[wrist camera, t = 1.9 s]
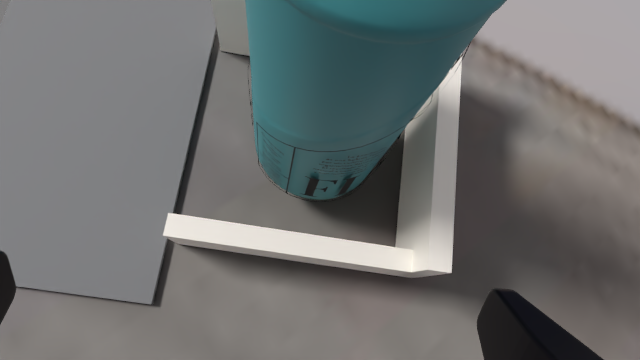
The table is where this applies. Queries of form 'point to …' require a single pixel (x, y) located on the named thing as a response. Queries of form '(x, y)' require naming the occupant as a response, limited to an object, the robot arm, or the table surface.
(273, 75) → the beverage bottle
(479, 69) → the table surface
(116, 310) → the table surface
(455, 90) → the open-sided box
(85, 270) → the mat
